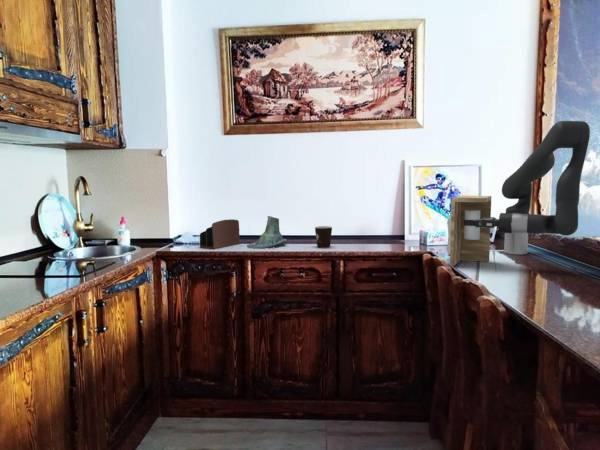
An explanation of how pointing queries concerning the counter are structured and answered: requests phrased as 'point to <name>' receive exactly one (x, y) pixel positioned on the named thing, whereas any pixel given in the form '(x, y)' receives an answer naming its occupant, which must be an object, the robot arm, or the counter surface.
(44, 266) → the counter surface
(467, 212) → the white upright cylinder
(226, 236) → the letter holder
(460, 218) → the cubby
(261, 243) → the tree stump
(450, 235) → the plastic bottle
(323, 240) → the coffee mug
